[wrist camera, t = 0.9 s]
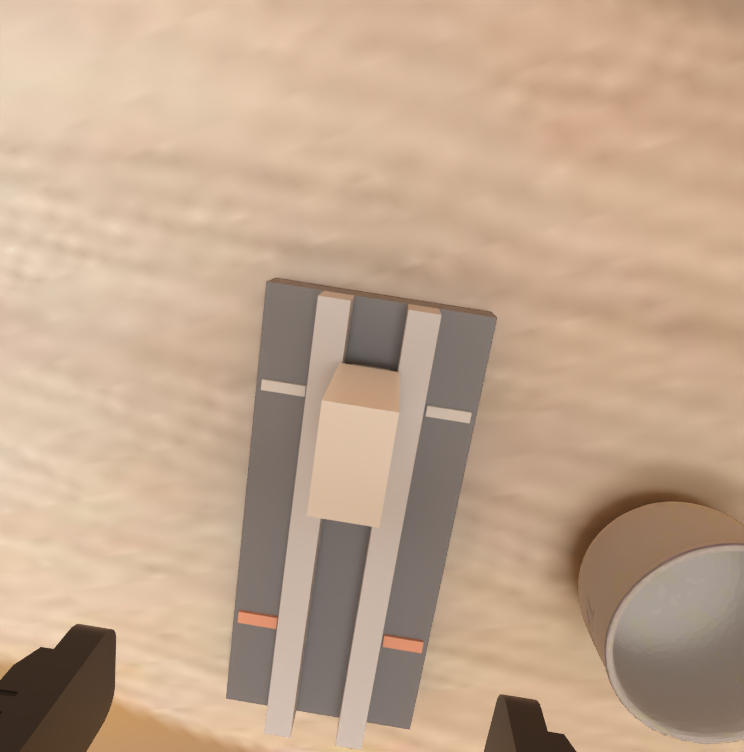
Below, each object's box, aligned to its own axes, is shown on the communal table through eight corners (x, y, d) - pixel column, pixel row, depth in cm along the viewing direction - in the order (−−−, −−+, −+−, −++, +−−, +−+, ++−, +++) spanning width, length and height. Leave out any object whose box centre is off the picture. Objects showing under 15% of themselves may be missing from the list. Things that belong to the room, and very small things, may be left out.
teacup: (525, 561, 34) (559, 658, 27) (660, 439, 32) (741, 508, 24) (680, 688, 36) (754, 814, 29) (819, 582, 34) (942, 689, 26)
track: (491, 311, 30) (503, 324, 27) (409, 703, 38) (409, 758, 34) (275, 278, 31) (256, 285, 27) (235, 674, 38) (215, 725, 34)
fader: (400, 361, 29) (399, 412, 21) (385, 449, 30) (379, 528, 23) (344, 352, 29) (321, 400, 21) (332, 440, 31) (306, 515, 23)
